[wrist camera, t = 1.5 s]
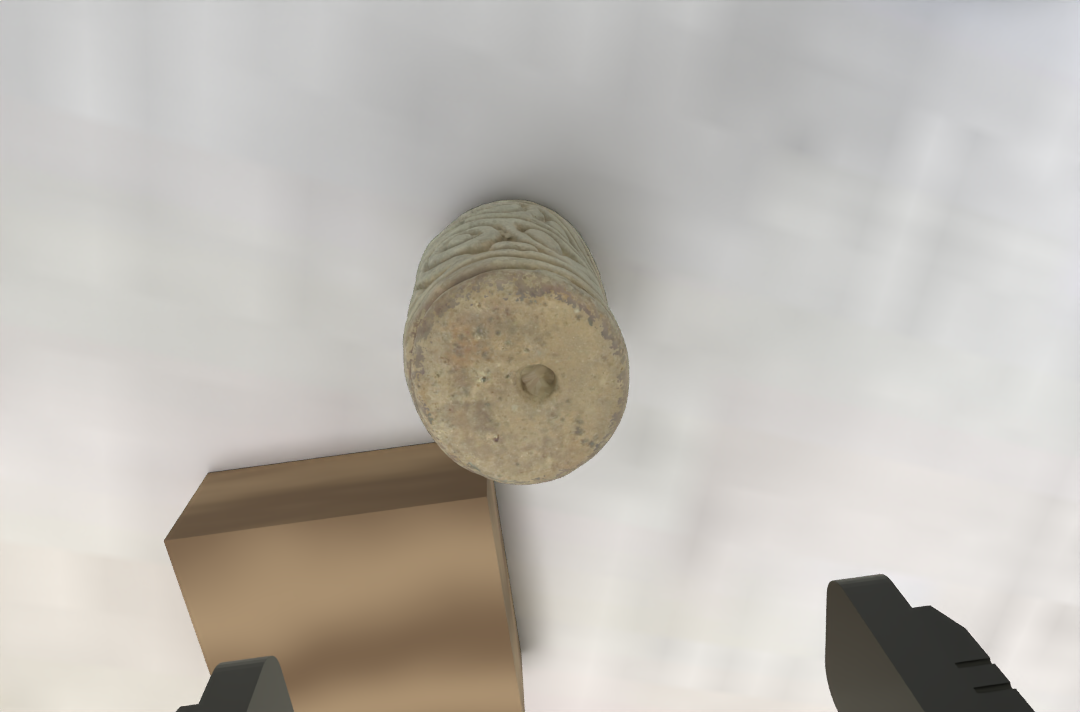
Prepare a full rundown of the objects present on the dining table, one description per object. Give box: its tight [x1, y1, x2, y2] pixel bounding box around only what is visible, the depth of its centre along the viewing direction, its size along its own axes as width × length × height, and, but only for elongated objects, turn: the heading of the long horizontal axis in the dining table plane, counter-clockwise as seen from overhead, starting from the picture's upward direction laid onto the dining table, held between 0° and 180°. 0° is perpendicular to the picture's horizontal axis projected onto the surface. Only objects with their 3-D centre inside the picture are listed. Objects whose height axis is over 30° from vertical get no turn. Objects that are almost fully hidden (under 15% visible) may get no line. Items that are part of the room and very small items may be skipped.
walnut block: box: [164, 442, 525, 712], centre depth 34 cm, size 12×12×5 cm
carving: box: [403, 200, 629, 485], centre depth 26 cm, size 6×8×12 cm
